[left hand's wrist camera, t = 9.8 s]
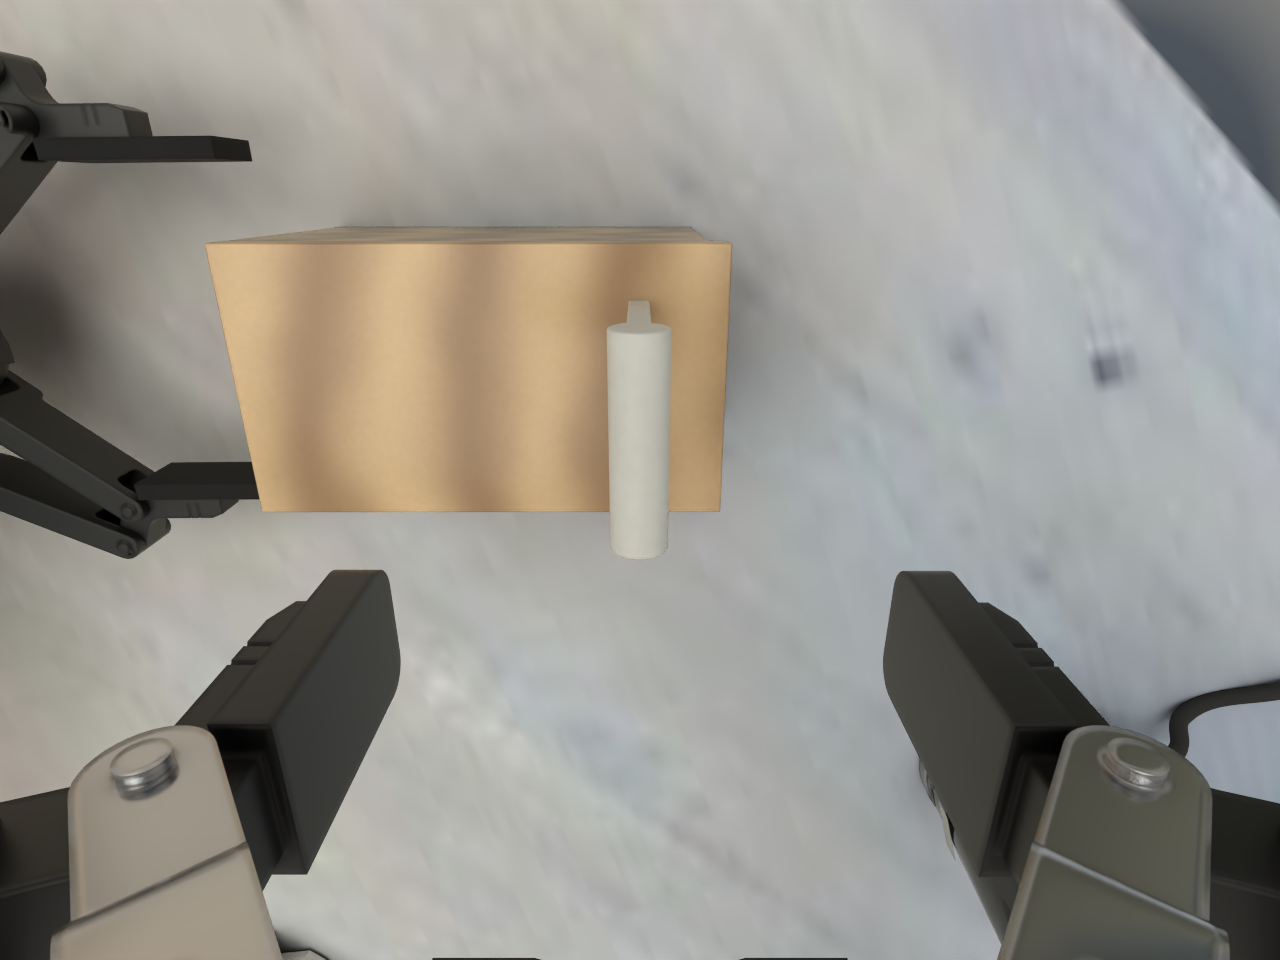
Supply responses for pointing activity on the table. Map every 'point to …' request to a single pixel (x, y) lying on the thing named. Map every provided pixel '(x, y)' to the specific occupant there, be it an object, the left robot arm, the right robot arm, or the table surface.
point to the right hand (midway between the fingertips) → (269, 328)
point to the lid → (482, 376)
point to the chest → (490, 234)
